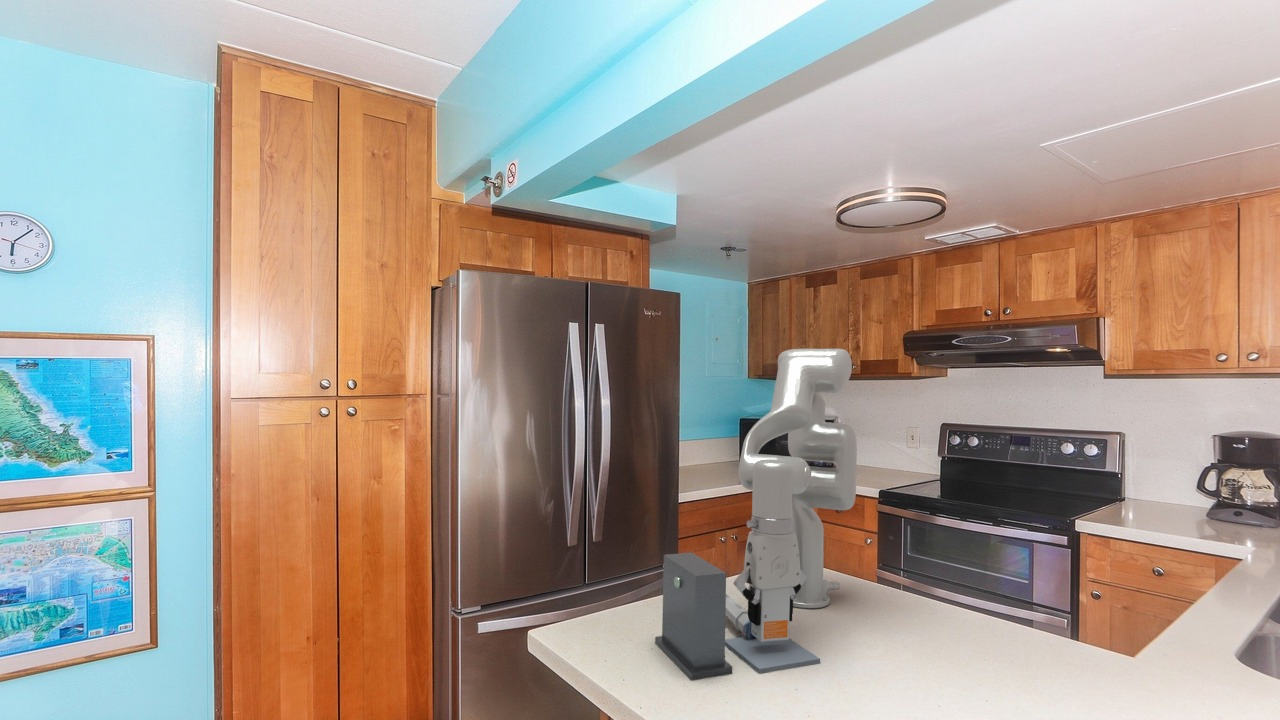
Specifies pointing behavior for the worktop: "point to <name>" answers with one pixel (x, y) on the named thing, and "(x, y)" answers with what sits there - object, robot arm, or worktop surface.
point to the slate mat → (771, 654)
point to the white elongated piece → (739, 617)
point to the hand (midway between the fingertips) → (770, 620)
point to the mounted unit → (694, 616)
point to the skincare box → (773, 615)
